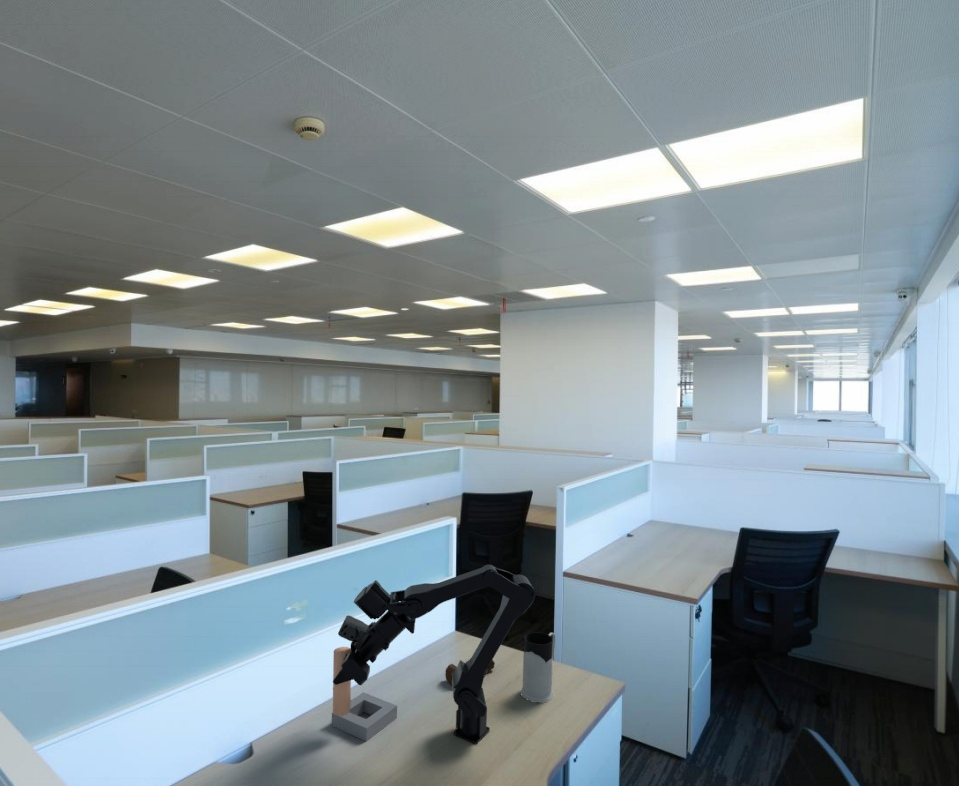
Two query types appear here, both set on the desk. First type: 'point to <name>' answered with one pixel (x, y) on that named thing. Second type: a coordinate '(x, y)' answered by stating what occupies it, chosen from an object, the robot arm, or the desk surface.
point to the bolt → (452, 668)
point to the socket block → (368, 727)
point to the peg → (341, 684)
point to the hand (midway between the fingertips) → (336, 678)
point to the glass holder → (538, 667)
